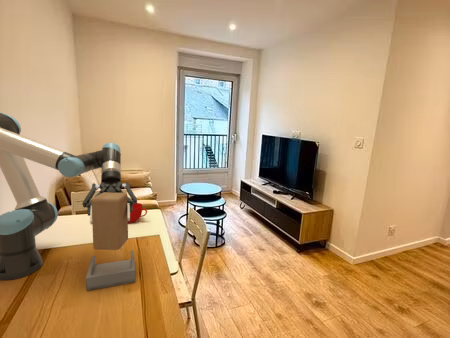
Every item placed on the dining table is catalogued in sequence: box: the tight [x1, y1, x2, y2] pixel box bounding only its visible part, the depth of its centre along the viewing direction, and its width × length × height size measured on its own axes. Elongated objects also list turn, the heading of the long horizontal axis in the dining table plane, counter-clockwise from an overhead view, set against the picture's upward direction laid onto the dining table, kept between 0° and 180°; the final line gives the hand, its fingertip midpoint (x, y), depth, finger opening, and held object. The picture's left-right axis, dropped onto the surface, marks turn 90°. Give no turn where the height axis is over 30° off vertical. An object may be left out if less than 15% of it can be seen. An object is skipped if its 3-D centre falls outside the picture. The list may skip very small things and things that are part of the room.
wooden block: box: [90, 192, 129, 251], centre depth 96 cm, size 10×10×20 cm
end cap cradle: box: [85, 250, 136, 292], centre depth 99 cm, size 16×16×5 cm
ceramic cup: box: [128, 202, 148, 224], centre depth 157 cm, size 13×17×10 cm
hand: (110, 221), depth 94 cm, fingers closed on wooden block, 12 cm apart
